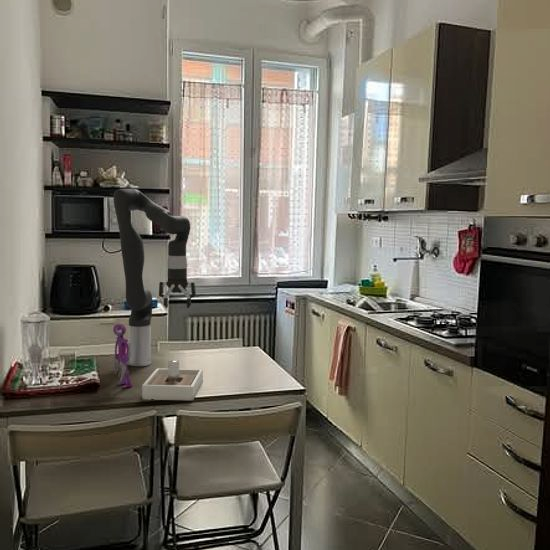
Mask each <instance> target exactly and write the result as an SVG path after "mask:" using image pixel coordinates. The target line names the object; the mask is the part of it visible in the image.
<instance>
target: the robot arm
mask: <svg viewBox="0 0 550 550" xmlns="http://www.w3.org/2000/svg"><path fill="white" fill-rule="evenodd" d="M113 193H114V194H113V206H114V211H115V215H116V220H117V225H118V226H117V227H118V230H119V239H120V240H119V241H120V249H121V257H122V265H123V271H124V278H125V280H124V281H125V302H126V305H127V307H128V308H129V309H130V310H131V311H130V314H129V318H128V342H127V343H128V346H129V352H128V357H129V361H128V362H127V366H132V367H145V366H149V365H151V364H152V342H151V341H152V337H151V336H152V334H151V333H152V332H151V329H152V326H151V324H152V322H151V321H152V316H153V294H152V293H151V291H150V290H149V289H148V288H147V287H144V279H143V272H144V266H145V247H144V241H143V239H142V236H140V234H139V232H138V231H137V230H136V228H135V227H134V226H133V223H132V221H131V217H130V211H141V212H143V213H145V216H146V218H147V219H148V220H149V221H150V222H152V223H153V224H155V225H158V226H159V227H160V228H161V230H163V232H165V233H167V234H168V235H175V238H174V239H171V240H170V241H168V243H167V261H166V262H167V281H164V280H161V281H159V282H158V283H159V285H158V297H159V298H163V306H164V308H167V309H168V307H169V296H170V294H171V293H178V294H181V293H182V294H184V296H185V297H186V309H190V307H191V306H192V298H195V297H196V295H197V292H196V291H197V290H196V282H195V281H190V282H189V281H188V260H187V243H188V239H189V236H190V232H191V221H190V220H189V219H188V217H187V216H184V215H173V213H172V212H171V211H170V210H168V209H166V208H164V207H162V206H160V205H158V204H157V203H155V202H154V201H152V200H151V199H150V198H148V197H147V196H146V195H145V194H144V193H142V192H141V191H140V190H139V189H137V188H118V189H116V190H115V191H114V192H113ZM166 286H167V289H168V290H167V291H166V292H165V293H164V288H165V287H166ZM187 287H189V288H190V289H191V294H190V292H189V290H188V289H187Z"/></svg>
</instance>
